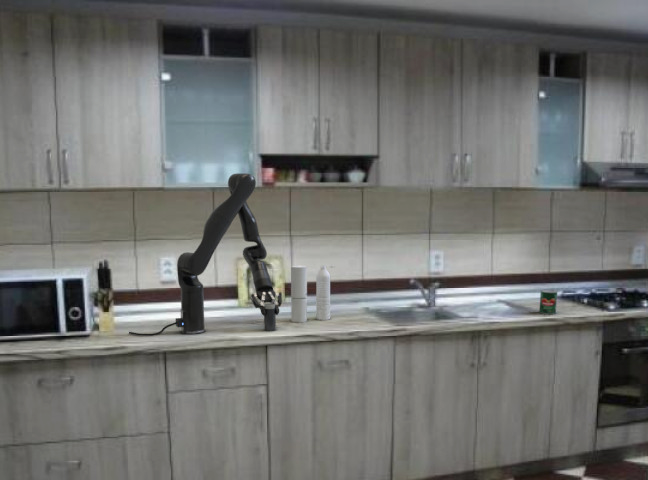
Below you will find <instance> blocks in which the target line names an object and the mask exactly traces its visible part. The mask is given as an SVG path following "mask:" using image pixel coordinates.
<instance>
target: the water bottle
mask: <svg viewBox="0 0 648 480" xmlns="http://www.w3.org/2000/svg"><path fill="white" fill-rule="evenodd" d="M328 268H335V264H329V265H328ZM315 279H316V280H315V284H316V289H315V292H316V295H315V296H316V298H315V308H316V311H315V313H316V314H315V319H316V320H317V321H318V320H319V321H328V320H330V319H331V275H330V273H329V271H328V270H327V265H320V269H319V271H317V273H316V277H315Z"/></svg>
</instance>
